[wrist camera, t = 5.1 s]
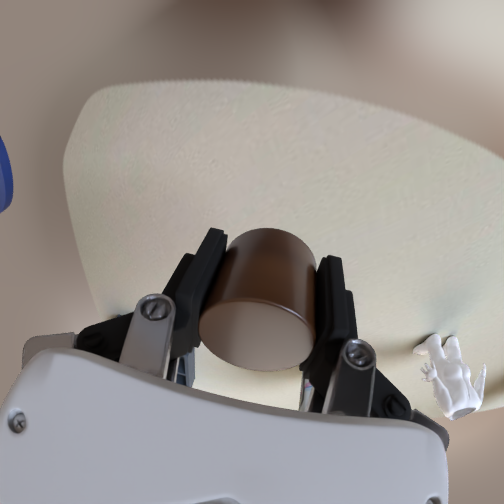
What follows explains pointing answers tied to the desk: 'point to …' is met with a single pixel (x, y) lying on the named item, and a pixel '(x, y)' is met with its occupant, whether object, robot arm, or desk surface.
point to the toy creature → (451, 377)
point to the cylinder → (262, 302)
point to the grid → (185, 369)
